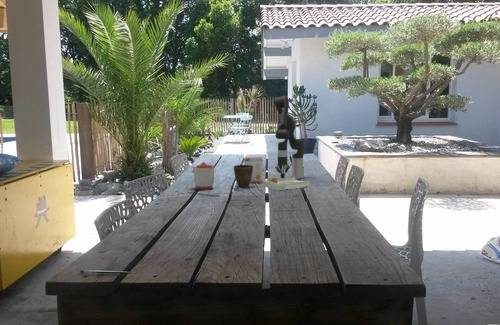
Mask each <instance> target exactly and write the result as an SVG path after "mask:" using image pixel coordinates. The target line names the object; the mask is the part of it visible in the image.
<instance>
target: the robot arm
mask: <svg viewBox="0 0 500 325" xmlns="http://www.w3.org/2000/svg"><path fill="white" fill-rule="evenodd" d="M273 103H274V106H275V109H276V110H277V113H278V115H279V116H278V117H277V118H278V119H277V129H276V131H275V138H276V139H277V140H283V141H279V142H278V143H277V165H276V166H275V167H274V168H275V169H276V171H277V173H279V174H280V179H286V176H285V174H286V173H288V171H289V169H290V168H291V178H295V180H301V179H300V178H302V179H304V178H305V166H304V155H305V141H304V140H303V139H302V138H296V137H295V134H294V133H295V130H296V123H295V120H294V119H293V117H292V116H291V115H289V114H288V112H289V109H290V108H289V107H290V100H289V97H288V96H287V95H281V96H278V97H275V98H273ZM288 142H289V146H290V149H292V150H294V151H296V150H297V151H296V153H292V156H291V159H292V160H291V165H289V164H288ZM303 177H304V178H303Z"/></svg>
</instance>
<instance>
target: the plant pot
mask: <svg viewBox="0 0 500 325" xmlns="http://www.w3.org/2000/svg"><path fill="white" fill-rule="evenodd" d="M233 171H234V177H235V181H236V184H237V186H238V188H240V189H244V188H249V186H250V184H251V183H250V181H251V177H252V172H253V166H251V165H244V164H240V165H239V164H237V165H234V166H233Z"/></svg>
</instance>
